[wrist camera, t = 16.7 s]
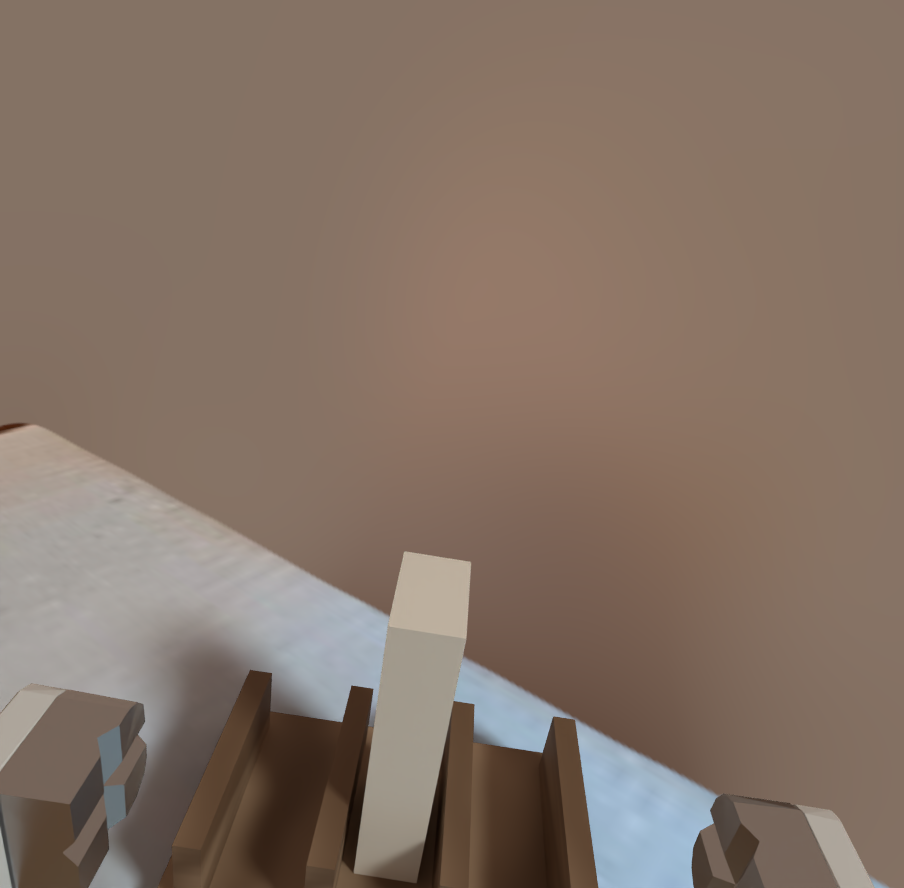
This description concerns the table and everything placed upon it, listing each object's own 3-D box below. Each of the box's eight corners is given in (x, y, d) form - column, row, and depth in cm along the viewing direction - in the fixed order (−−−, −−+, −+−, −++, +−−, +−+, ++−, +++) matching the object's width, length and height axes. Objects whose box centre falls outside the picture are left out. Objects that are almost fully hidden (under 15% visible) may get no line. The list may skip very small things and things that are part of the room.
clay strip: (353, 873, 32) (387, 626, 26) (371, 781, 37) (404, 551, 30) (416, 883, 32) (466, 638, 26) (426, 789, 37) (470, 562, 30)
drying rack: (142, 945, 29) (136, 865, 27) (236, 724, 40) (238, 654, 38) (596, 1012, 30) (629, 939, 27) (568, 775, 41) (590, 708, 38)
